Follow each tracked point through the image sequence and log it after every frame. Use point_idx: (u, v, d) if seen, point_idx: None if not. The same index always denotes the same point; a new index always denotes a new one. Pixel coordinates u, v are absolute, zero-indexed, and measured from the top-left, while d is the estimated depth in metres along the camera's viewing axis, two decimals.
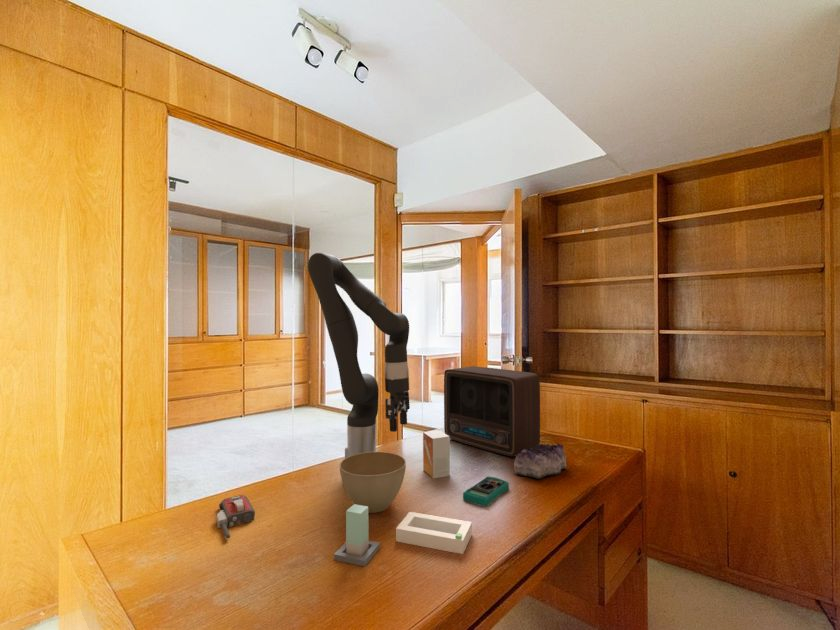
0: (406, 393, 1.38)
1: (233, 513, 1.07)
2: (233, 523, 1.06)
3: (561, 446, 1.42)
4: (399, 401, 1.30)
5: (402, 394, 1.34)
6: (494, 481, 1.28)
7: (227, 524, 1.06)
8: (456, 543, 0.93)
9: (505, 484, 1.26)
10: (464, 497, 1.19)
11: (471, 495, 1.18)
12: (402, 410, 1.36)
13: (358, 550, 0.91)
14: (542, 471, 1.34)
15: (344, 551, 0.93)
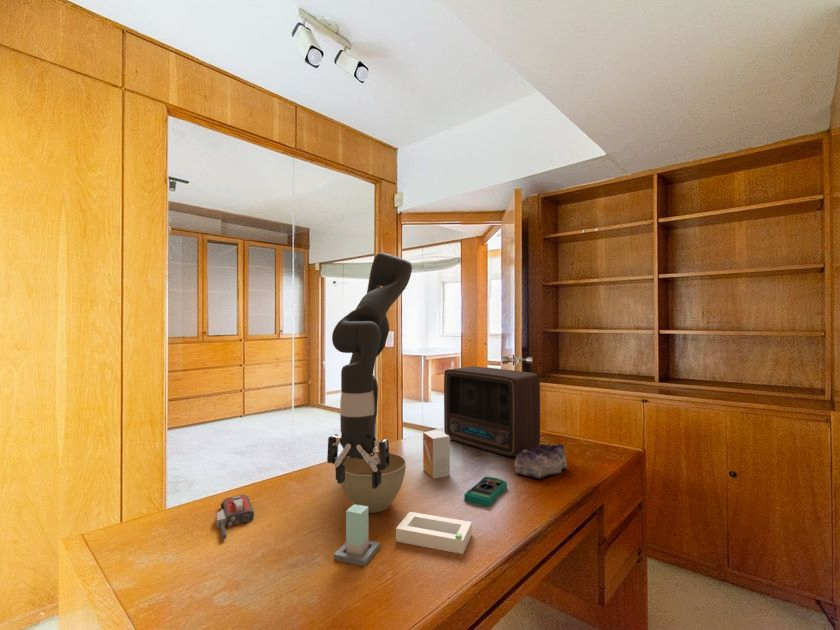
0: None
1: (232, 513, 1.07)
2: (232, 523, 1.06)
3: (562, 446, 1.42)
4: None
5: None
6: (492, 481, 1.28)
7: (226, 524, 1.06)
8: (456, 543, 0.93)
9: (504, 484, 1.26)
10: (465, 498, 1.19)
11: (473, 496, 1.17)
12: None
13: (358, 550, 0.91)
14: (543, 471, 1.34)
15: (344, 551, 0.93)
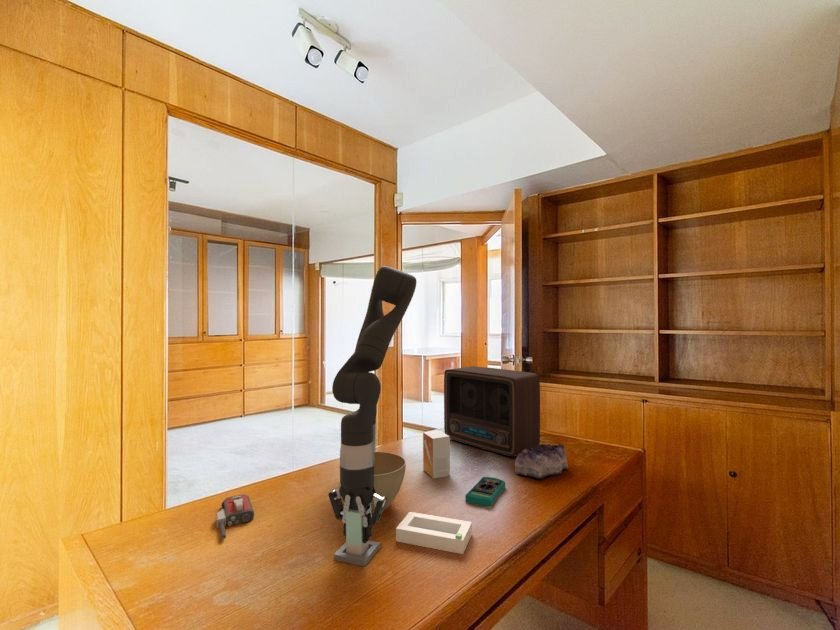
0: None
1: (232, 513, 1.07)
2: (232, 523, 1.06)
3: (562, 446, 1.42)
4: None
5: None
6: (491, 481, 1.28)
7: (226, 523, 1.06)
8: (456, 543, 0.93)
9: (503, 483, 1.26)
10: (467, 499, 1.18)
11: (474, 497, 1.17)
12: None
13: (357, 550, 0.91)
14: (543, 471, 1.33)
15: (344, 551, 0.93)
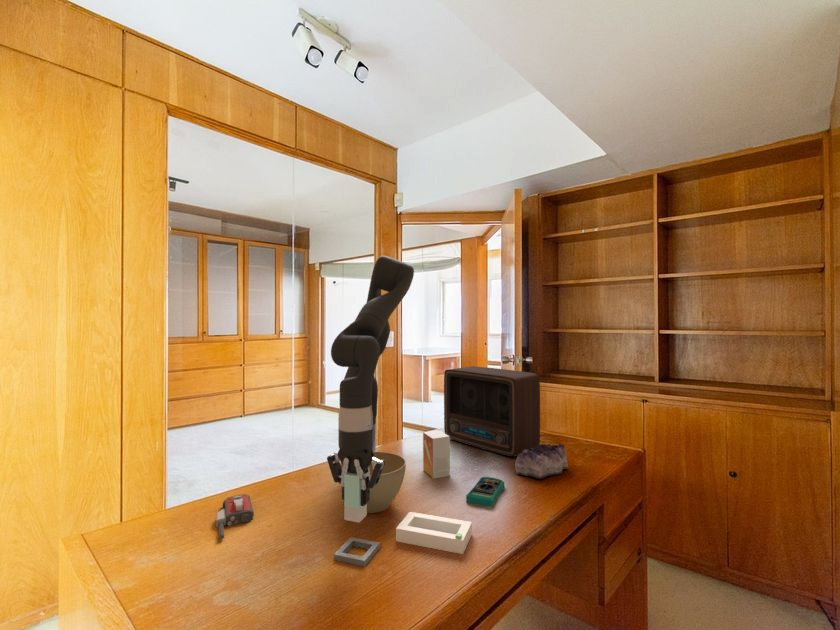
0: None
1: (231, 513, 1.07)
2: (231, 523, 1.06)
3: (562, 446, 1.42)
4: None
5: None
6: (490, 481, 1.28)
7: (225, 523, 1.06)
8: (456, 543, 0.93)
9: (502, 483, 1.27)
10: (468, 500, 1.18)
11: (476, 497, 1.17)
12: None
13: (356, 512, 0.91)
14: (543, 471, 1.34)
15: (344, 551, 0.93)
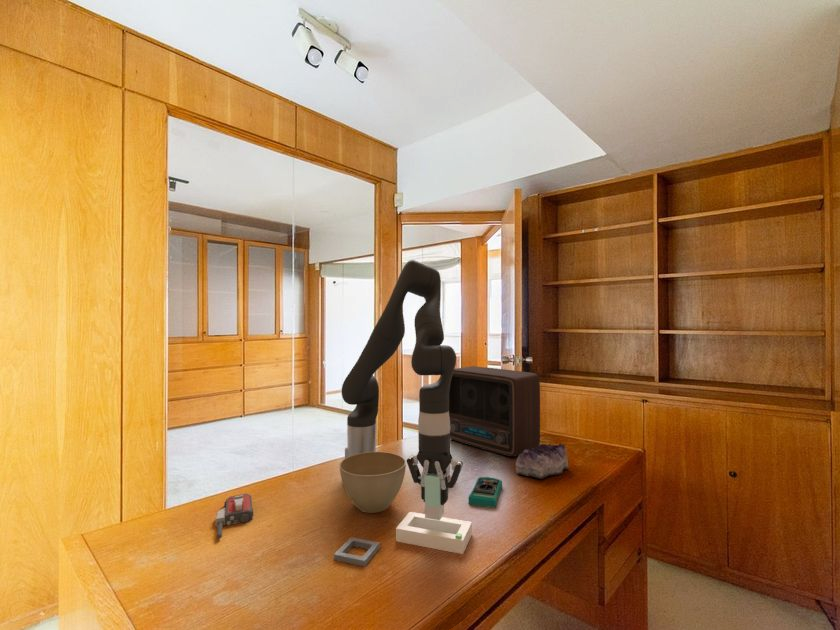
0: None
1: (231, 512, 1.07)
2: (230, 522, 1.07)
3: (563, 446, 1.42)
4: None
5: None
6: (488, 481, 1.28)
7: (225, 523, 1.06)
8: (456, 543, 0.93)
9: (500, 482, 1.27)
10: (470, 501, 1.17)
11: (478, 498, 1.16)
12: None
13: (436, 511, 0.97)
14: (544, 471, 1.33)
15: (344, 551, 0.93)
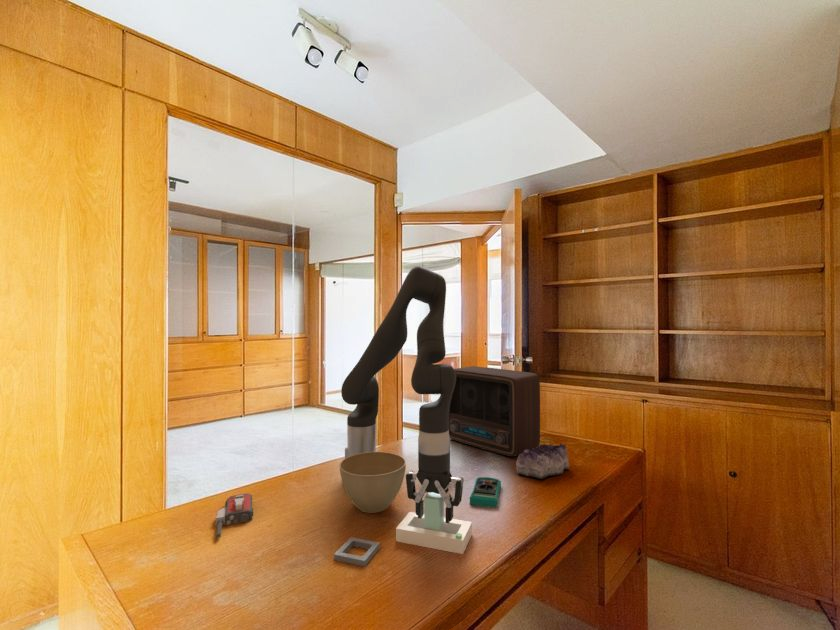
0: None
1: (231, 512, 1.07)
2: (230, 522, 1.07)
3: (563, 446, 1.42)
4: None
5: None
6: (487, 481, 1.28)
7: (225, 522, 1.07)
8: (456, 543, 0.93)
9: (499, 482, 1.27)
10: (471, 502, 1.17)
11: (480, 499, 1.16)
12: (420, 498, 1.01)
13: None
14: (544, 471, 1.33)
15: (344, 551, 0.93)
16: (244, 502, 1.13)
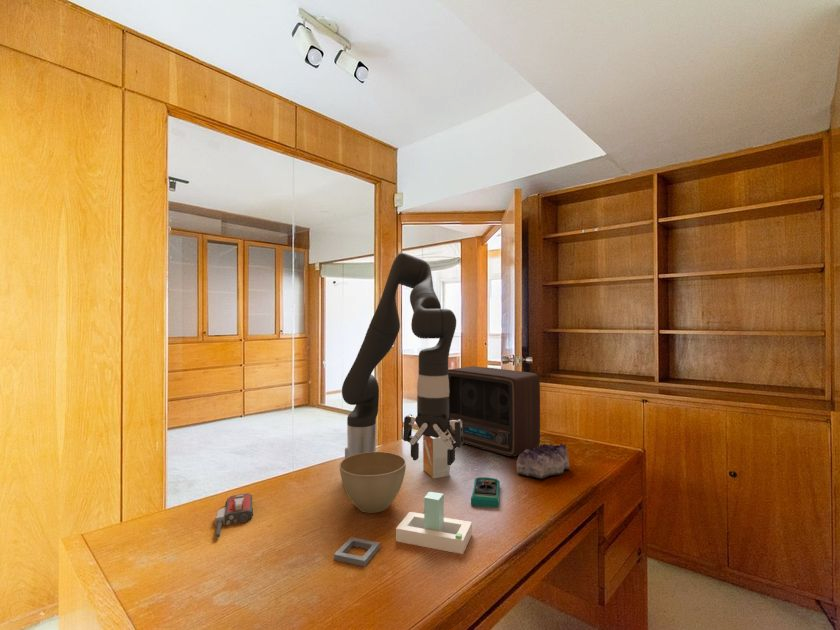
0: None
1: (230, 512, 1.08)
2: (230, 522, 1.07)
3: (564, 446, 1.42)
4: None
5: None
6: (486, 481, 1.28)
7: (224, 522, 1.07)
8: (456, 543, 0.93)
9: (498, 482, 1.27)
10: (473, 502, 1.16)
11: (481, 499, 1.16)
12: (416, 441, 1.01)
13: None
14: (544, 471, 1.33)
15: (344, 551, 0.93)
16: (244, 502, 1.13)
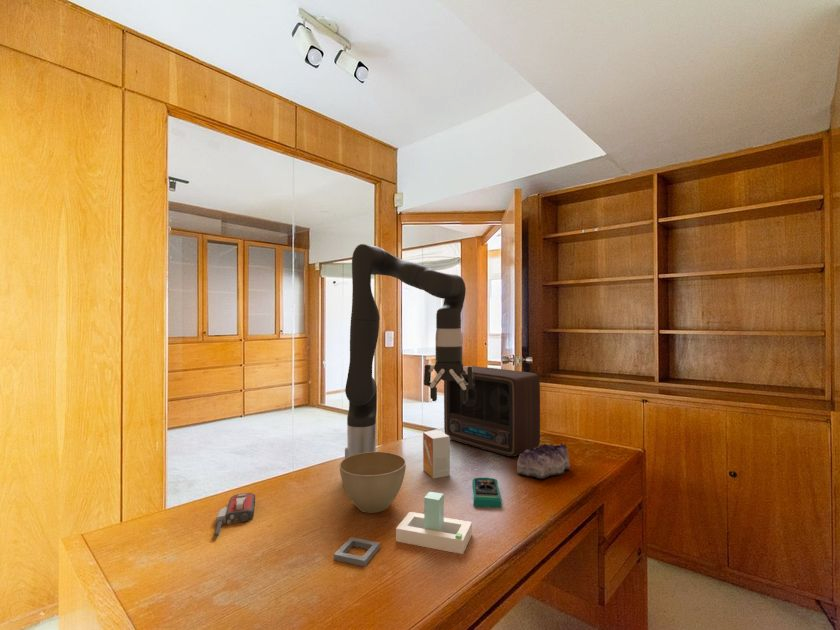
0: None
1: (231, 511, 1.08)
2: (230, 521, 1.07)
3: (564, 446, 1.42)
4: None
5: None
6: (485, 481, 1.28)
7: (225, 521, 1.07)
8: (456, 543, 0.93)
9: (497, 482, 1.28)
10: (476, 503, 1.16)
11: (484, 500, 1.15)
12: (434, 385, 1.20)
13: None
14: (545, 471, 1.33)
15: (344, 551, 0.93)
16: (246, 501, 1.13)
